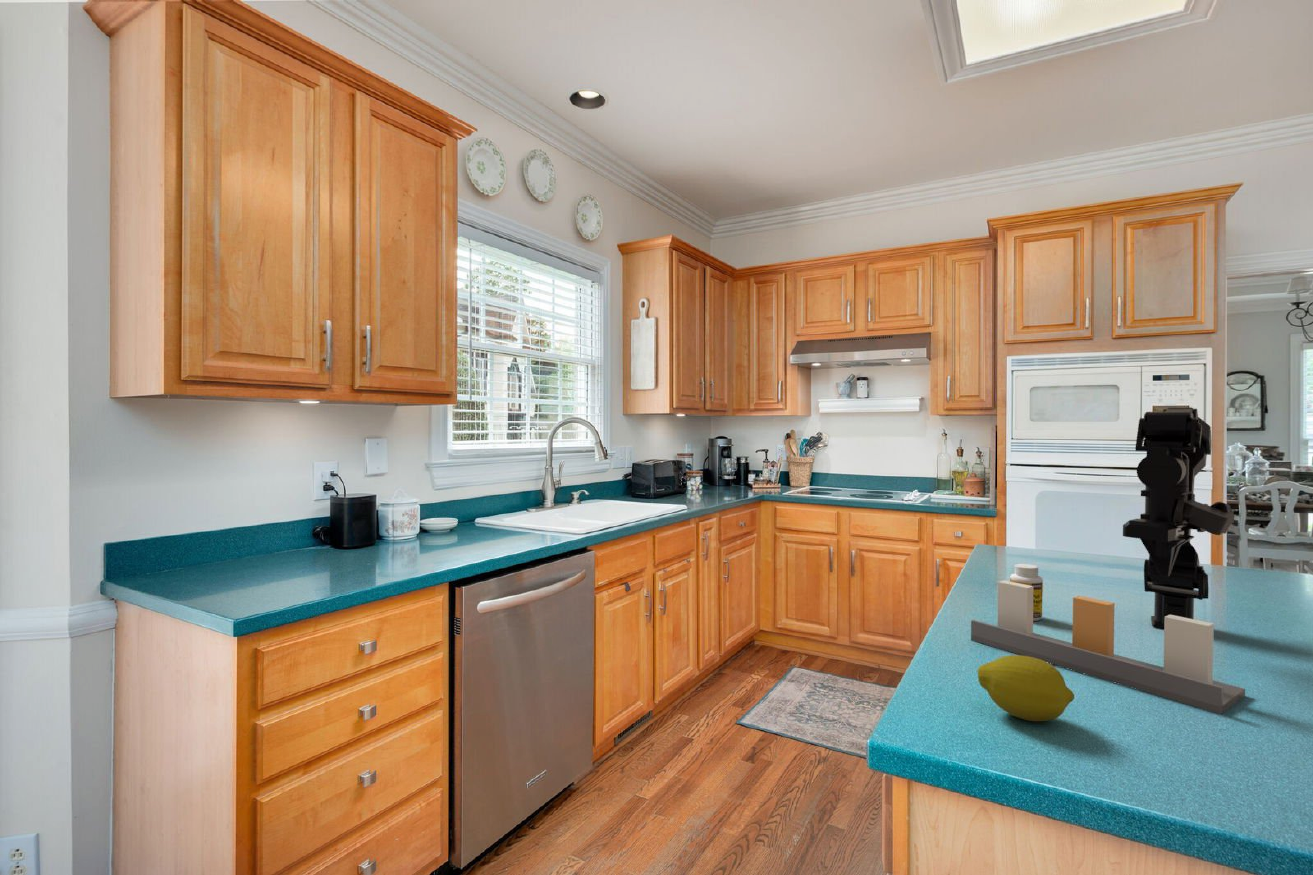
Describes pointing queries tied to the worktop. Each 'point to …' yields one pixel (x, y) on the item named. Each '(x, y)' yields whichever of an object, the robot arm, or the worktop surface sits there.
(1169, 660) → the key
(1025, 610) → the key
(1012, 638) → the long grey base rail
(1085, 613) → the key middle
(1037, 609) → the supplement bottle
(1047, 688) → the lemon
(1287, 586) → the worktop surface
